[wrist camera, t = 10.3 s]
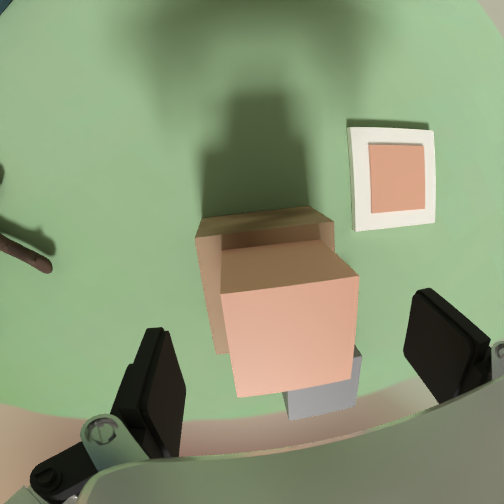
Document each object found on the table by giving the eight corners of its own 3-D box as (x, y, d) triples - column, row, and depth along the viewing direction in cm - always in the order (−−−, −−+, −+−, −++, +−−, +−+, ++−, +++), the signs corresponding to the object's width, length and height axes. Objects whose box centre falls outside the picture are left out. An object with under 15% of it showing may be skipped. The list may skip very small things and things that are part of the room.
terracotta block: (320, 239, 15) (359, 275, 11) (320, 323, 17) (350, 378, 12) (221, 250, 15) (220, 294, 10) (233, 335, 17) (237, 397, 12)
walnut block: (308, 205, 20) (333, 221, 15) (312, 300, 22) (333, 337, 17) (202, 217, 20) (194, 238, 15) (217, 313, 22) (216, 354, 17)
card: (428, 130, 19) (434, 130, 18) (430, 221, 21) (436, 223, 20) (346, 127, 18) (351, 126, 17) (352, 229, 20) (356, 232, 20)
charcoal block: (337, 318, 23) (361, 355, 18) (335, 366, 24) (355, 406, 20) (274, 329, 22) (286, 371, 18) (278, 377, 24) (289, 420, 19)
